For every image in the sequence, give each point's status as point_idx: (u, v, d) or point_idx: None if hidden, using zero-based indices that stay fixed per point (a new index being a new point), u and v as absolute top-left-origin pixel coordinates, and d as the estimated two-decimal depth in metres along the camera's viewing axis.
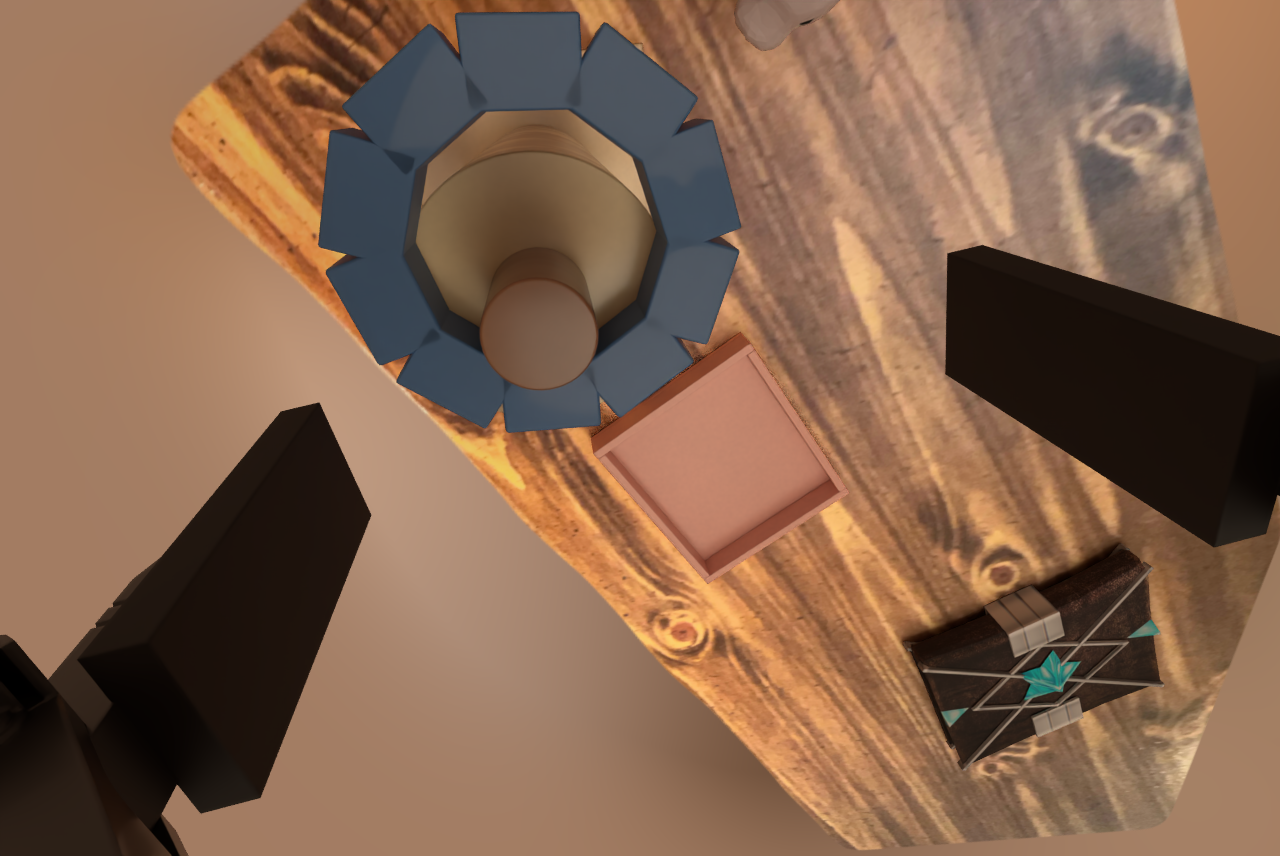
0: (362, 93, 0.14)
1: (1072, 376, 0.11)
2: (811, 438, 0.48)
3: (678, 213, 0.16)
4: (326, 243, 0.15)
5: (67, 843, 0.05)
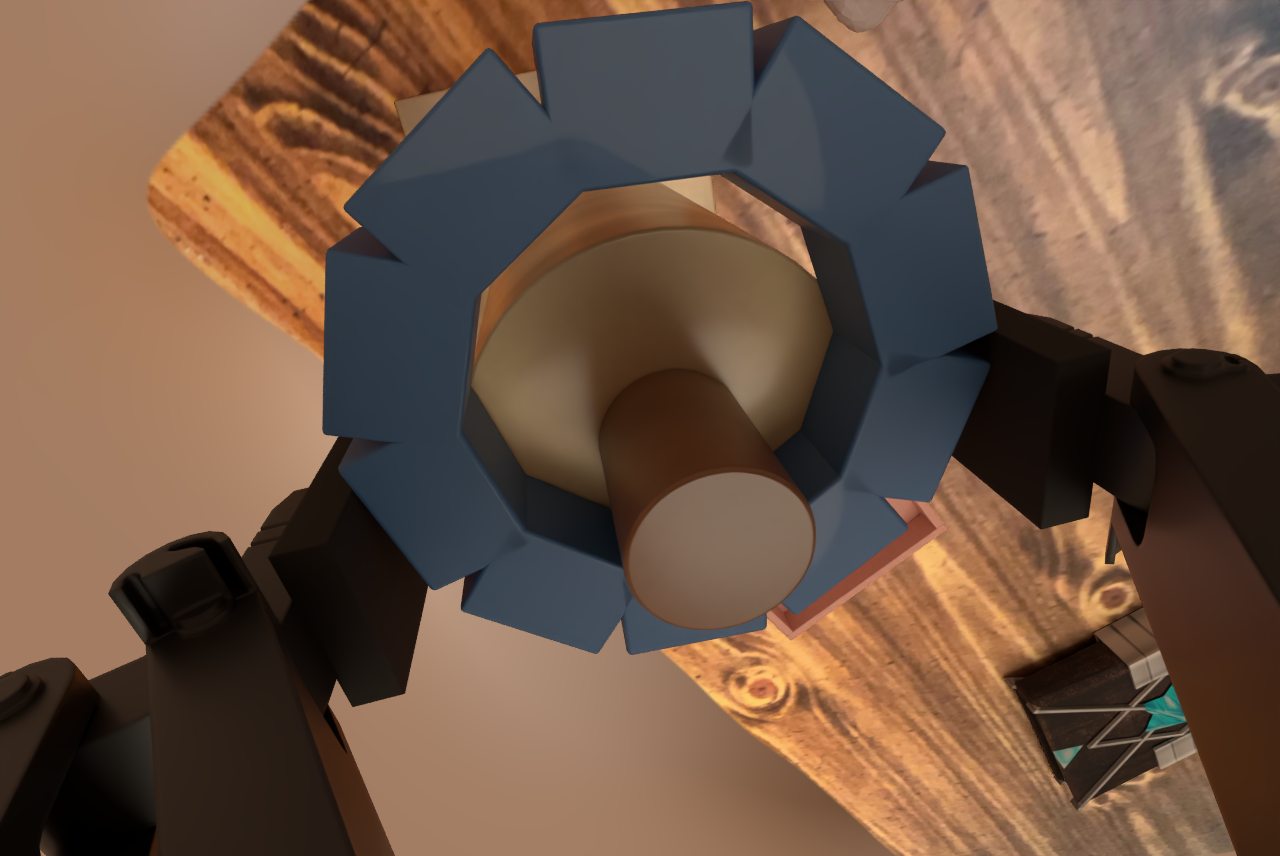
0: (377, 182, 0.08)
1: None
2: None
3: (901, 319, 0.09)
4: (335, 428, 0.09)
5: (268, 716, 0.06)
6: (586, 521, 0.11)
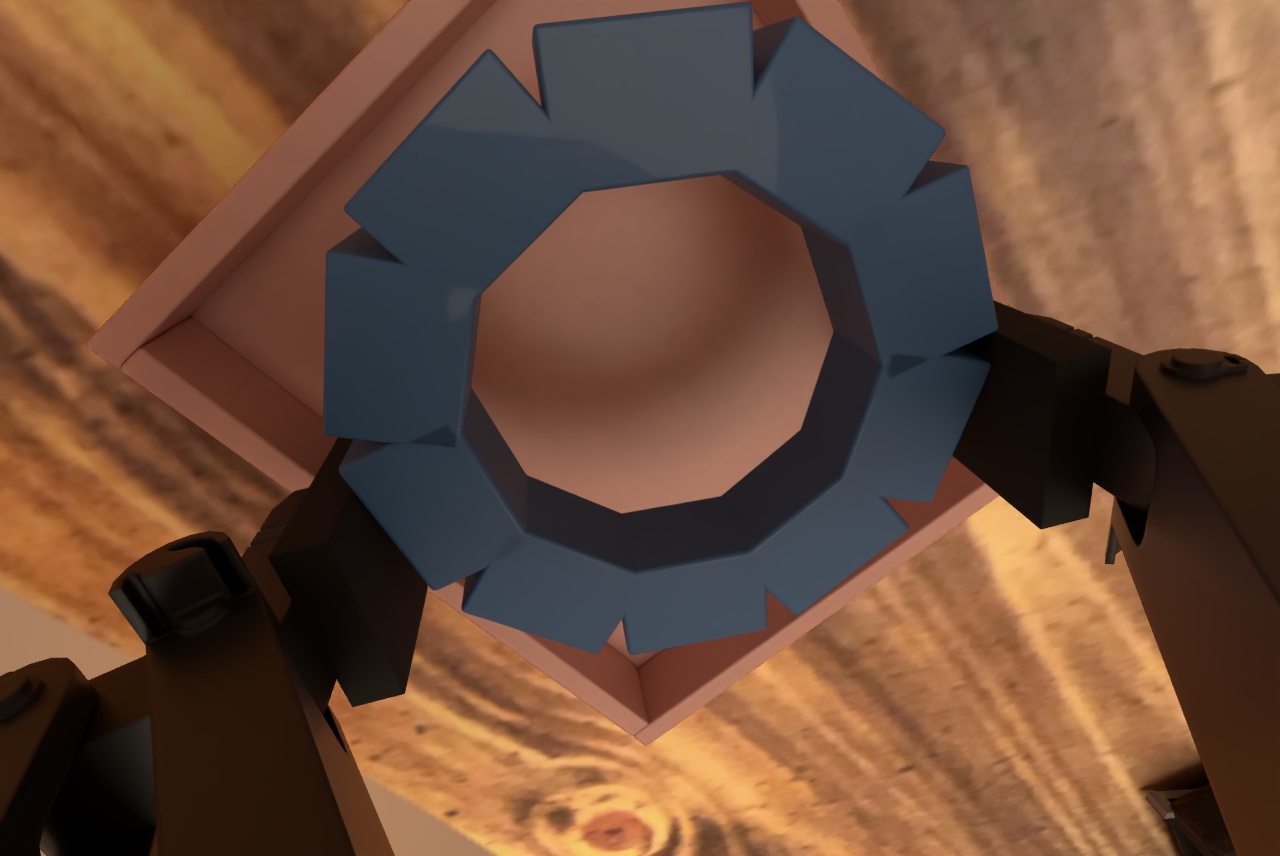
0: (377, 183, 0.08)
1: None
2: None
3: (901, 319, 0.09)
4: (336, 429, 0.09)
5: (268, 716, 0.06)
6: (586, 521, 0.11)
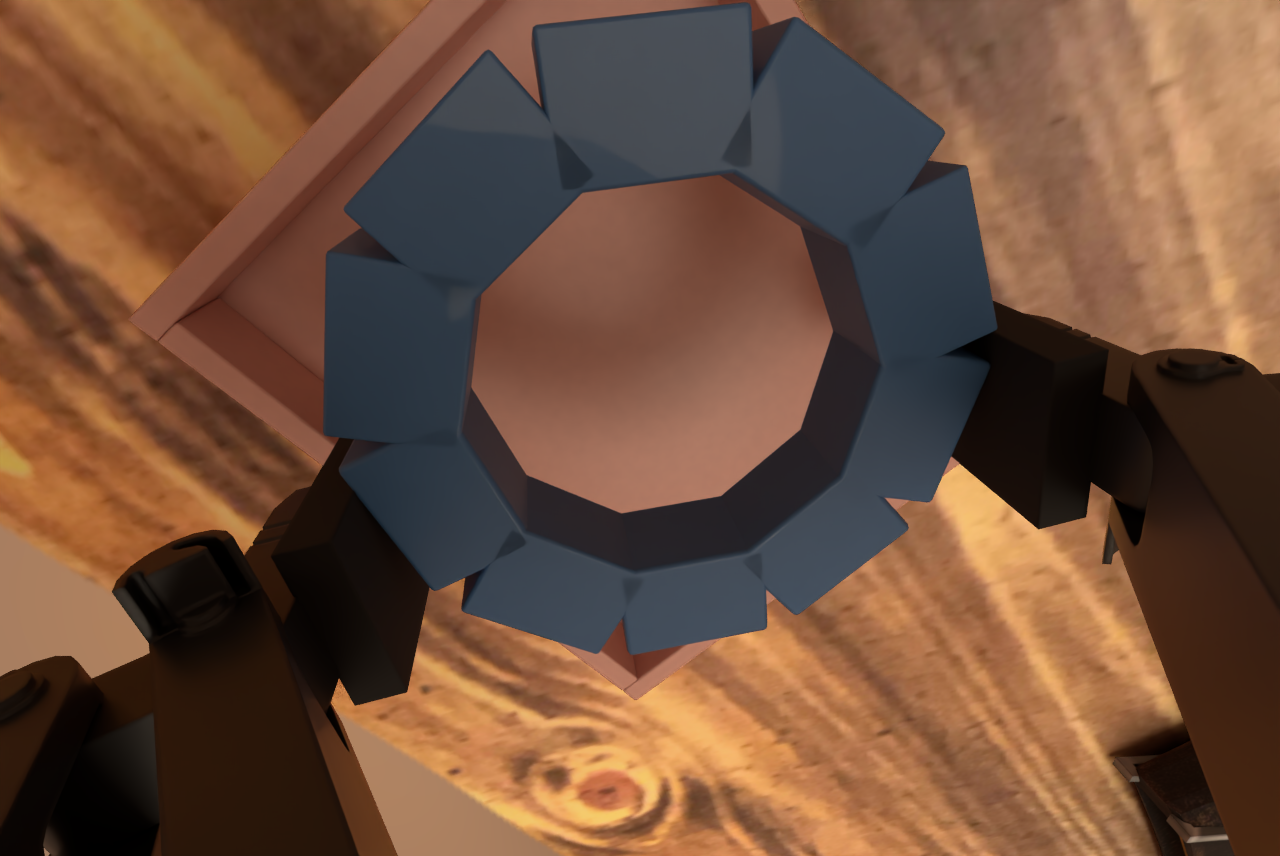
0: (377, 184, 0.08)
1: None
2: None
3: (901, 319, 0.09)
4: (336, 429, 0.09)
5: (271, 714, 0.06)
6: (586, 521, 0.11)
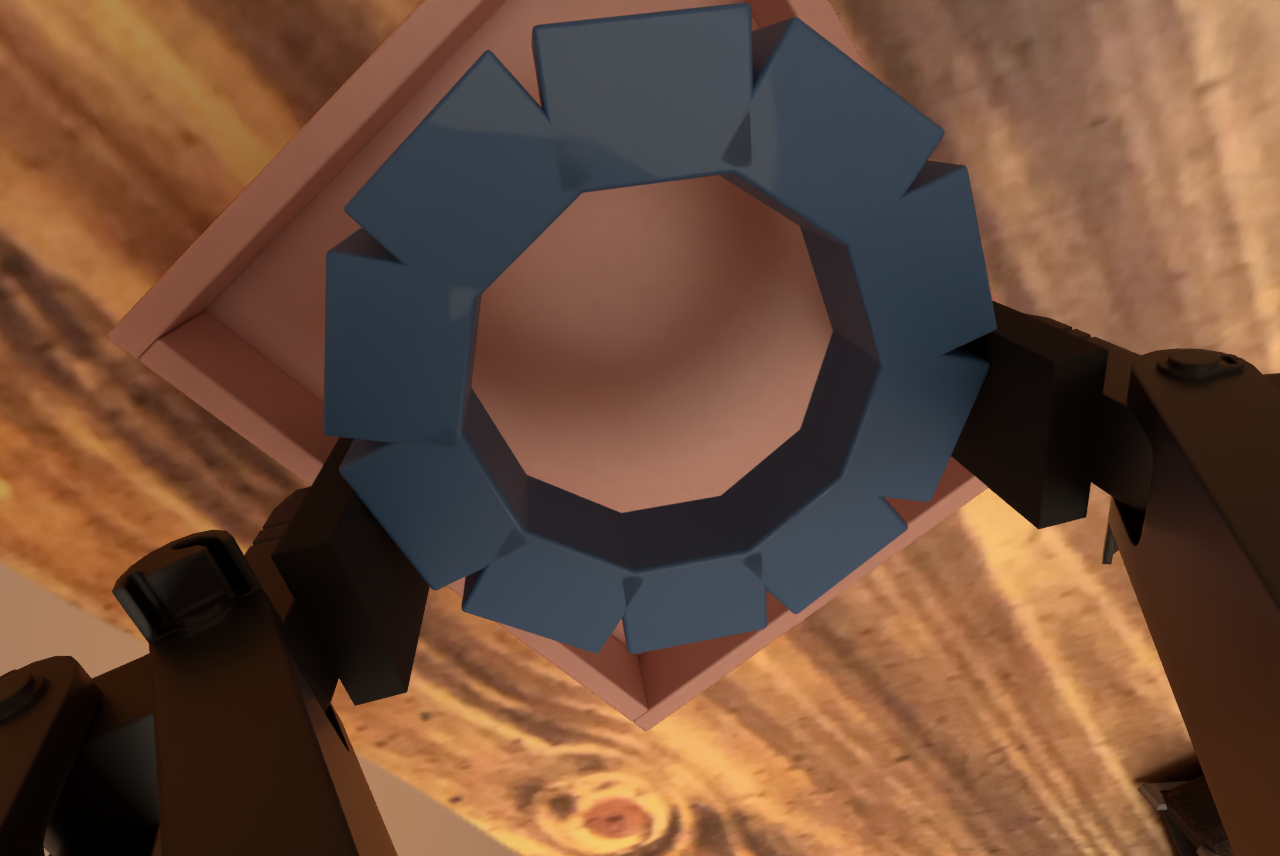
0: (377, 184, 0.08)
1: None
2: None
3: (900, 318, 0.09)
4: (336, 429, 0.09)
5: (271, 715, 0.06)
6: (586, 521, 0.11)
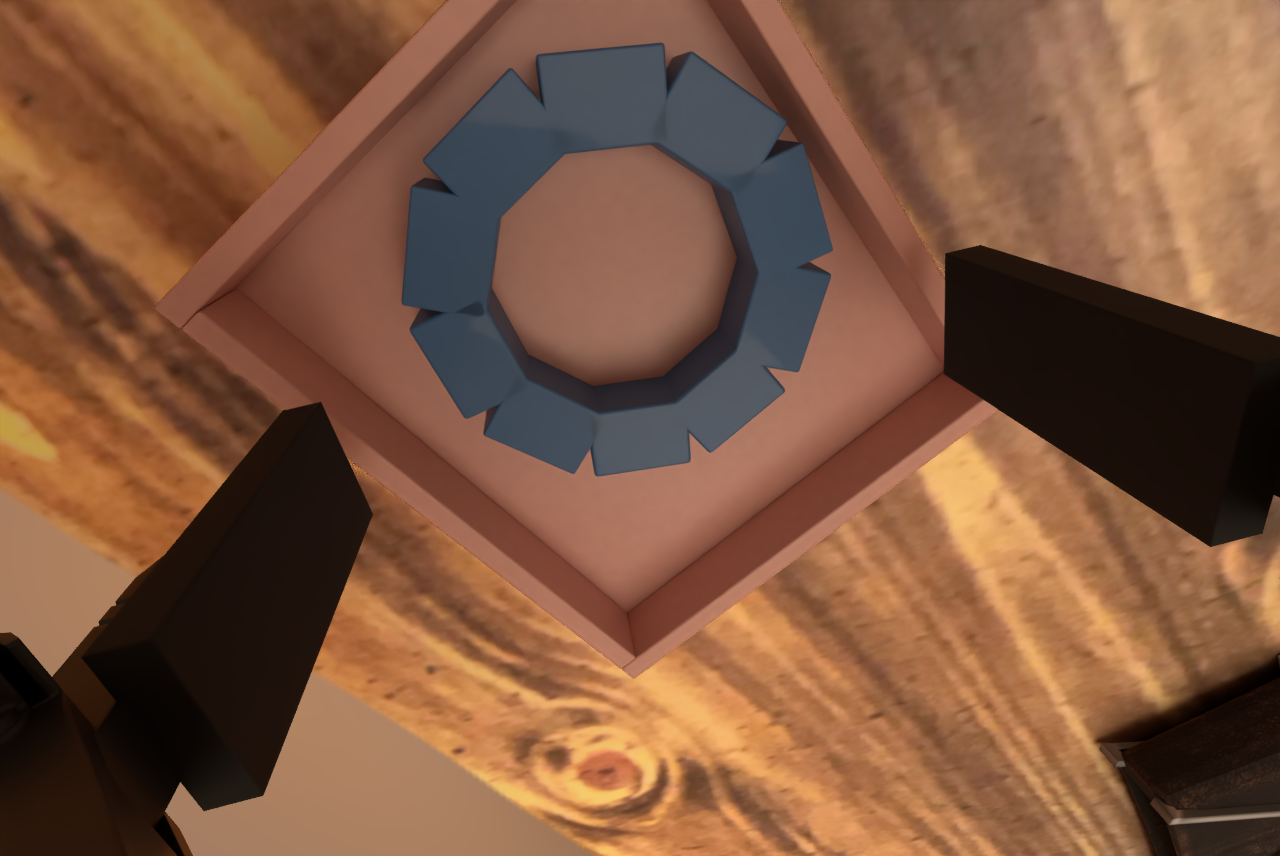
0: (443, 145, 0.13)
1: (1069, 376, 0.11)
2: (902, 218, 0.15)
3: (768, 241, 0.15)
4: (410, 300, 0.14)
5: (71, 841, 0.05)
6: (568, 383, 0.17)
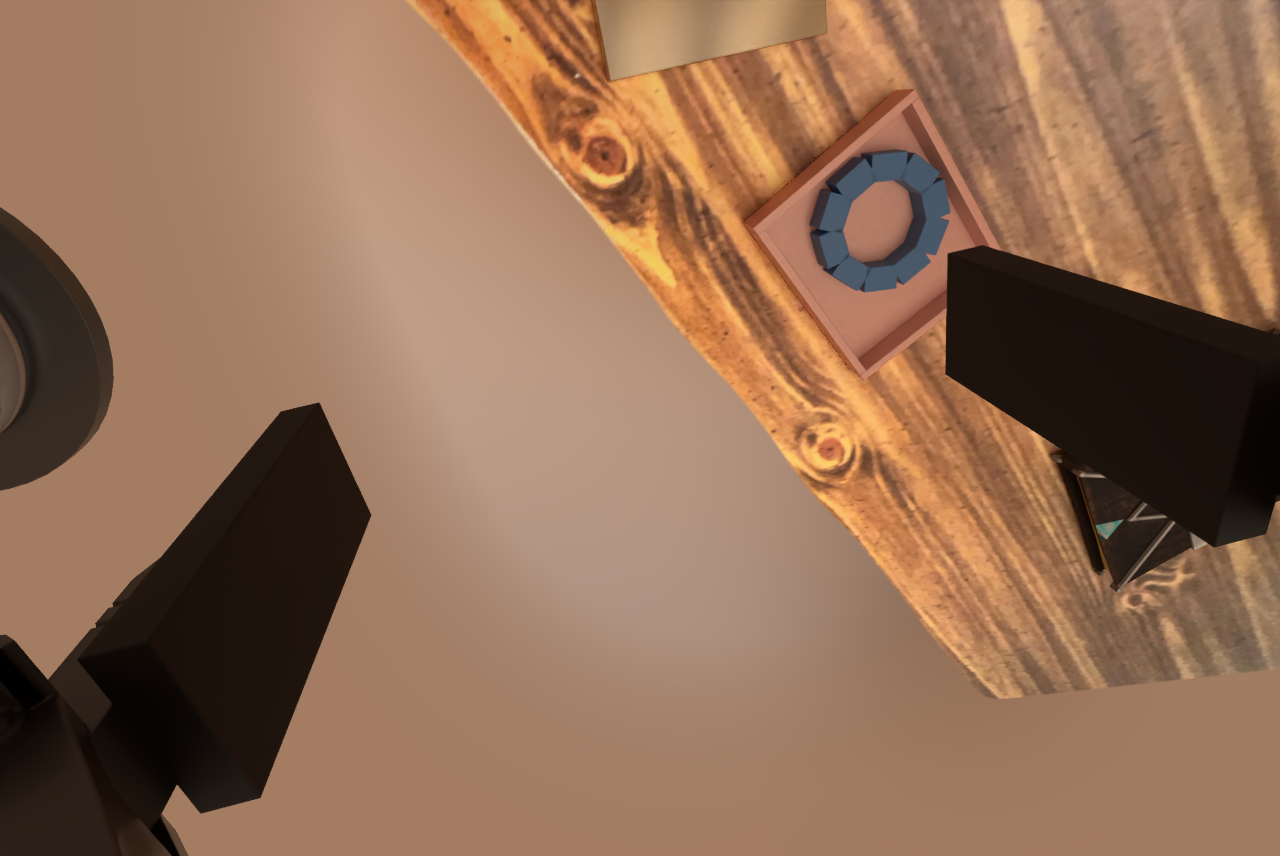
0: (842, 180, 0.45)
1: (1072, 376, 0.11)
2: (973, 202, 0.47)
3: (930, 209, 0.47)
4: (821, 227, 0.46)
5: (67, 843, 0.05)
6: None
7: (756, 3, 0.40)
